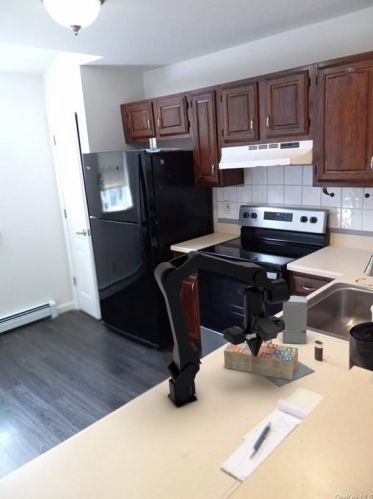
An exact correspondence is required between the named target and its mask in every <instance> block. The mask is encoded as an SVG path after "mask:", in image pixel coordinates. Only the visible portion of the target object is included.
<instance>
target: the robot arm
mask: <svg viewBox="0 0 373 499" xmlns="http://www.w3.org/2000/svg"><path fill="white" fill-rule="evenodd" d="M198 269H203V270H207V271H211V272H214V273H218V274H222V275H226V276H230V277H234V278H236V279H238V280H240V281H242V282H244V283H246V284H248V286H246V285H245V284H242V285H241V286H240V287H239V288H237V290H236V293H238V294H240V296H243V299H244V300H243V301H244V302H243V303H244V307H243V308H241V313H243V314H244V321H242V322H241V326H243V327H244V328H242V329H240V328H238V327H236V326H233V327H228V328H226V329H224V330H223V333H222V336H223V337H222V338H223V339H224V340H226V341H227V342H228V343H231V344H233V345H239V344H242V343H244V342H245V341H246V343H247V344H248V346H249V348H250V351H251V353H252V355H253V356H254V357H256V356H257V355H258V353H259V350H260V347H261V345H262V342H263V340H264V341H269V340H272V341H273V340H275V339H278V336H279V334H280V333H281V334H282V333H283V330H285V323H284V321H283V318H279V317H277V316H275V315H270V316H269V313H268V311H267V310H266V309H265V302H266V303H267V304H268V305H274V304H275V305H276V304H281V303H282V304H283V302H287V301H289V300H290V296H292V295H291V291H290V289H289V286H288V284H287V280H286V279H283V278H278V279H275V280H270V278H269V277H268V272H267V270H266V268H264V267H262V266H260V265H258V264H256V263H253V262H249V261H237V262H236V261H232V260H227V259H224V258H220V257H217V256H214V255H209V254H206V253H202V252H199V251H197V250H194V249H193V250H190V251H189V252H187V253H185V254H183V255H180V256H178V257H175V258H173V259H171V260H169V261H166V262H165V261H163V262H161V263H159V264H158V265H157V267H156V268H155V269H154V278H155V279H156V282H157V284H158V286H159V289H160V291H161V292H162V294H163V297H164V301H165V305H166V310H167V314H168V319H169V323H170V327H171V333H172V337H173V343H174V346H173V349H172V353H173V354H172V355H173V357H172V358H173V359H171V361H170V362H169V363H168V365H167V366H166V370H167V372H168V374H169V376H170V378H169V379H168V387H169V388H168V389H169V393H168V394H167V397H168V399H169V400H170V401H171V402H172V404H174V406H175V407H176V408H181V407H183V406H186V405H188V404H191V403H194V402H196V401H198V397H197V396H196V394H197V393H196V391H197V390H196V382H195V380H196V378H197V375H198V373H199V372H200V369H201V365H202V362H201V358H200V350H199V349H198V347H197V346H196V345H195V344H194V342H193V341H190V337H189V330H188V327H187V322H186V316H185V311H184V307H183V302H182V293H183V282H184V281H186V279H189V277H190V276H191V275H193V273H195V272H196V271H197V270H198ZM249 285H250V286H249Z"/></svg>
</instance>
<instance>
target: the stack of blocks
mask: <svg viewBox="0 0 373 499" xmlns="http://www.w3.org/2000/svg"><path fill="white" fill-rule="evenodd" d="M223 357H224V358H223V361H224V368H227V369H232V370H237V371H241V372H242V371H243V372H249V373H253V374H258V375H261V376H263V375H266V376H272V377H276V378H283V379H287V380H292V377H293V375H294V373H295V370H296V369H297V366H298V361H299V359H298V358H299V348H298V347H293V346H288V345H283V344H276V343H275V344H274V343H273V339H272V340H269V341H264V340H263V342H262V345H261V347H260V350H259V353H258V355H257V356H256V357H254V356H253V355H252V353H251V351H250V348H249V346H248V344H247V343H246V341H245V342H244V343H242V344H239V345H233V344H231V343H230V342H228V344H227V345H226V346H225V348H224V349H223Z"/></svg>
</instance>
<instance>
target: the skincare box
mask: <svg viewBox="0 0 373 499" xmlns="http://www.w3.org/2000/svg"><path fill="white" fill-rule="evenodd" d="M307 318H308V298H307V296H300V295H299V296H297V295H290V300H289V301H287V302H282V320H283V321H284V323H285V330H282V342H283V344H301V345H302V344H303V345H306V344H307V326H308V325H307V321H308V319H307Z"/></svg>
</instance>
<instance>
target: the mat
mask: <svg viewBox="0 0 373 499" xmlns="http://www.w3.org/2000/svg"><path fill="white" fill-rule="evenodd" d="M313 373H315V370H314V369H312V368H311V367H309V366H308V365H305V364H303V363H302V362H300V361H299V360H298V366H297V369H296V370H295V373H294V375H293V377H292V380H287V379H283V378H276V377H272V376H266V375H262V376H264V377H265V378H266V379H268V380H269V381H271V382H272V383H273V384H275V385H276V386H277V387H279V388H280V387H283V386H284V385H287V384H290V383H291V382H294V381H297V380H298V379H302V378H304V377H306V376H309V375H311V374H313Z"/></svg>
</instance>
